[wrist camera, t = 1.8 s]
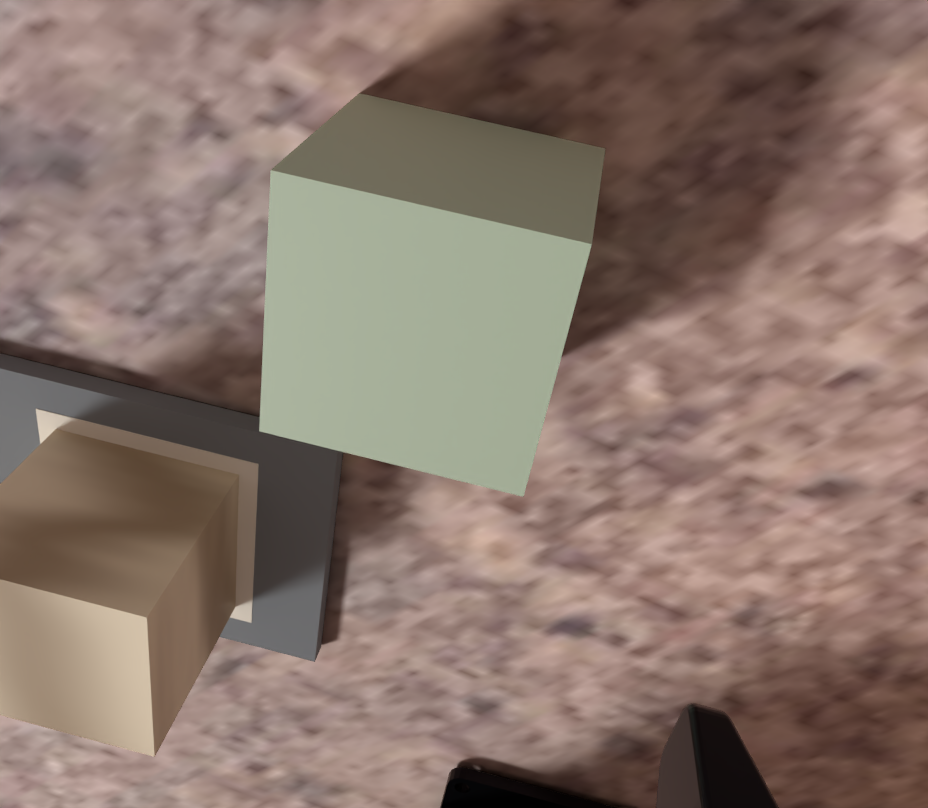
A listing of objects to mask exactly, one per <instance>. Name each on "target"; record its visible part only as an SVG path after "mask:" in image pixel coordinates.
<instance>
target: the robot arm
mask: <svg viewBox="0 0 928 808" xmlns="http://www.w3.org/2000/svg"><path fill="white" fill-rule="evenodd" d="M440 808H615V807H612V806H608V805H604V804H600V803H597V802H593V801H589V800H585V799H581V798H578V797H574V796H570V795H566V794H563V793H559V792H555V791H551V790H548V789H544V788H540V787H536V786H533V785H529V784H525V783H521V782H517V781H514V780H510V779H506V778H502V777H499V776H495V775H491V774H487V773H484V772H480V771H476V770H472V769H469V768H463V767H459V768H454V769H452V770H451V772H450V773H449V777H448V780H447V784H446V788H445V792H444V795H443V799H442V803H441V806H440ZM656 808H779V807H778V805H777V803H776V801H775V800H774V798H773V796H772V794H771V792H770V790H769V789H768V787H767V785H766V783H765V781H764V779H763V778H762V776H761V774H760V772H759V770H758V768H757V767H756V765H755V763H754V761H753V759H752V757H751V756H750V754H749V752H748V750H747V748H746V746H745V745H744V743H743V741H742V739H741V737H740V735H739V734H738V732H737V730H736V728H735V726H734V724H733V723H732V721H731V719H730V717H729V716H728V715H727V714H726V713H724V712H723V711H721V710H718V709H714V708H710V707H706V706H702V705H698V704H694V703H690V704H688V705H687V706H686V707H685V708H684V709H683V711H682V712H681V714H680V716H679V719H678V721H677V723H676V725H675V727H674V729H673V731H672V733H671V735H670V737H669V739H668V741H667V743H666V745H665V747H664V750H663V753H662V757H661V762H660V768H659V779H658V791H657V802H656Z"/></svg>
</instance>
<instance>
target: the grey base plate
mask: <svg viewBox="0 0 928 808" xmlns="http://www.w3.org/2000/svg"><path fill="white" fill-rule="evenodd" d="M259 424H260V417H256V416H252V415H248V414H244V413H240V412H236V411H232V410H228V409H224V408H220V407H216V406H212V405H208V404H204V403H200V402H196V401H191V400H187V399H183V398H179V397H175V396H171V395H167V394H163V393H159V392H155V391H151V390H147V389H143V388H139V387H135V386H131V385H127V384H123V383H118V382H114V381H110V380H106V379H102V378H98V377H94V376H90V375H86V374H82V373H78V372H74V371H70V370H66V369H62V368H58V367H54V366H50V365H45V364H41V363H37V362H33V361H29V360H25V359H21V358H17V357H13V356H9V355H5V354H1V353H0V484H1V483H2V482H3V481H4V480H5V479H6V478H7V477H8V476H9V475H10V474H11V473H12V472H13V471H14V470H15V469H16V468H17V467H18V466H19V465H20V464H21V463H22V462H23V461H24V460H25V459H26V458H27V457H28V456H29V455H30V454H31V453H32V452H33V451H34V450H35V449H36V448H37V447H38V446H39V445H40V444H41V443H42V442H43V441H44V440H45V439H46V438H47V437H48V436H49V435H50V434H51V433H52V432H53V431H54V430H55V429H58V430H62V431H66V432H70V433H74V434H78V435H82V436H86V437H90V438H94V439H98V440H102V441H106V442H110V443H114V444H118V445H122V446H126V447H130V448H134V449H138V450H142V451H146V452H150V453H154V454H158V455H162V456H166V457H170V458H174V459H178V460H182V461H186V462H190V463H194V464H198V465H202V466H206V467H210V468H214V469H218V470H222V471H226V472H230V473H234V474H238V475H239V496H238V531H237V567H236V602H235V609H234V610H233V612H232V614H231V616H230V618H229V620H228V622H227V623H226V625H225V627H224V629H223V631H222V633H221V635H220V636H219V637H222V638H226V639H230V640H234V641H238V642H241V643H245V644H249V645H253V646H257V647H261V648H264V649H268V650H272V651H276V652H280V653H284V654H287V655H291V656H295V657H299V658H303V659H306V660H310V661H314V662H315V660H316V658H317V655H318V653H319V650H320V648H321V643H322V634H323V625H324V616H325V607H326V599H327V590H328V581H329V572H330V563H331V554H332V545H333V537H334V528H335V519H336V510H337V501H338V492H339V484H340V475H341V466H342V457H343V452H341V451H337V450H333V449H329V448H325V447H321V446H317V445H313V444H309V443H305V442H301V441H297V440H292V439H288V438H284V437H280V436H276V435H272V434H268V433H264V432H260V431H259Z"/></svg>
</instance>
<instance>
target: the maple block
mask: <svg viewBox="0 0 928 808" xmlns="http://www.w3.org/2000/svg"><path fill="white" fill-rule="evenodd" d="M238 496H239V475H238V474H234V473H230V472H226V471H222V470H218V469H214V468H210V467H206V466H202V465H198V464H194V463H190V462H186V461H182V460H178V459H174V458H170V457H166V456H162V455H158V454H154V453H150V452H146V451H142V450H138V449H134V448H130V447H126V446H122V445H118V444H114V443H110V442H106V441H102V440H98V439H94V438H90V437H86V436H82V435H78V434H74V433H70V432H66V431H62V430H58V429H55V430H54V431H53V432H52V433H51V434H50V435H49V436H48V437H47V438H46V439H45V440H44V441H43V442H42V443H41V444H40V445H39V446H38V447H37V448H36V449H35V450H34V451H33V452H32V453H31V454H30V455H29V456H28V457H27V458H26V459H25V460H24V461H23V462H22V463H21V464H20V465H19V466H18V467H17V468H16V469H15V470H14V471H13V472H12V473H11V474H10V475H9V476H8V477H7V478H6V479H5V480H4V481H3V482H2V483H1V484H0V715H2V716H5V717H9V718H13V719H16V720H20V721H24V722H28V723H31V724H35V725H39V726H42V727H46V728H50V729H53V730H57V731H61V732H65V733H68V734H72V735H76V736H79V737H83V738H87V739H90V740H94V741H98V742H102V743H105V744H109V745H113V746H116V747H120V748H124V749H127V750H131V751H135V752H139V753H142V754H146V755H150V756H153V757H155V755H156V753H157V751H158V750H159V748H160V746H161V744H162V742H163V740H164V738H165V737H166V735H167V733H168V731H169V729H170V727H171V725H172V724H173V722H174V720H175V718H176V716H177V714H178V712H179V711H180V709H181V707H182V705H183V703H184V701H185V699H186V698H187V696H188V694H189V692H190V690H191V688H192V686H193V685H194V683H195V681H196V679H197V677H198V675H199V674H200V672H201V670H202V668H203V666H204V664H205V662H206V661H207V659H208V657H209V655H210V653H211V651H212V649H213V648H214V646H215V644H216V642H217V640H218V638H219V636H220V635H221V633H222V631H223V629H224V627H225V625H226V623H227V622H228V620H229V618H230V616H231V614H232V612H233V610H234V609H235V602H236V567H237V531H238Z"/></svg>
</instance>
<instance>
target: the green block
mask: <svg viewBox="0 0 928 808" xmlns="http://www.w3.org/2000/svg"><path fill="white" fill-rule="evenodd" d="M605 149H606V148H602V147H597V146H593V145H588V144H584V143H579V142H575V141H570V140H566V139H561V138H557V137H552V136H548V135H544V134H539V133H535V132H530V131H526V130H521V129H517V128H512V127H508V126H503V125H499V124H495V123H490V122H486V121H481V120H477V119H472V118H468V117H463V116H459V115H454V114H450V113H445V112H441V111H437V110H432V109H428V108H423V107H419V106H414V105H410V104H405V103H401V102H396V101H392V100H388V99H383V98H379V97H374V96H370V95H365V94H361V93H359V94H358V95H357V96H356V97H354V98H353V99H352V100H351V101H350V102H349V103H347V104H346V105H345V106H344V107H343V108H342V109H341V110H339V111H338V112H337V113H336V114H335V115H334V116H333V117H331V118H330V119H329V120H328V121H327V122H326V123H324V124H323V125H322V126H321V127H320V128H319V129H318V130H316V131H315V132H314V133H313V134H312V135H311V136H310V137H308V138H307V139H306V140H305V141H304V142H303V143H301V144H300V145H299V146H298V147H297V148H296V149H295V150H293V151H292V152H291V153H290V154H289V155H288V156H286V157H285V158H284V159H283V160H282V161H281V162H280V163H278V164H277V165H276V166H275V167H274V168H273V169H272V170H271V175H270V198H269V221H268V243H267V266H266V288H265V311H264V334H263V356H262V379H261V402H260V424H259V431H260V432H264V433H268V434H272V435H276V436H280V437H284V438H288V439H292V440H297V441H301V442H305V443H309V444H313V445H317V446H321V447H325V448H329V449H333V450H337V451H341V452H345V453H349V454H353V455H357V456H361V457H365V458H369V459H373V460H377V461H381V462H385V463H389V464H393V465H397V466H401V467H406V468H410V469H414V470H418V471H422V472H426V473H430V474H434V475H438V476H442V477H446V478H450V479H454V480H458V481H462V482H466V483H470V484H474V485H478V486H482V487H486V488H490V489H494V490H498V491H502V492H506V493H511V494H515V495H519V496H523V497H524V493H525V489H526V486H527V482H528V478H529V475H530V471H531V467H532V463H533V460H534V456H535V452H536V449H537V445H538V441H539V438H540V434H541V430H542V427H543V423H544V419H545V415H546V412H547V408H548V404H549V401H550V397H551V393H552V390H553V386H554V382H555V379H556V375H557V371H558V368H559V364H560V360H561V356H562V353H563V349H564V345H565V342H566V338H567V334H568V331H569V327H570V323H571V320H572V316H573V312H574V308H575V305H576V301H577V297H578V294H579V290H580V286H581V283H582V279H583V275H584V272H585V268H586V264H587V260H588V257H589V253H590V249H591V246H592V240H593V233H594V226H595V219H596V212H597V205H598V198H599V191H600V184H601V177H602V170H603V163H604V156H605Z"/></svg>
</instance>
